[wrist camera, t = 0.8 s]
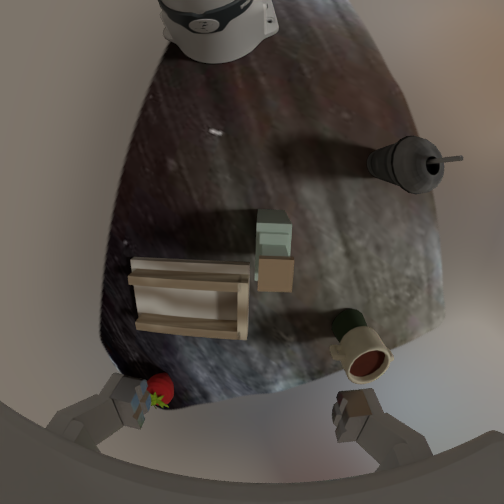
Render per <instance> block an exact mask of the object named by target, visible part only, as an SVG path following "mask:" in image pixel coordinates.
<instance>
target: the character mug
mask: <svg viewBox="0 0 504 504" xmlns="http://www.w3.org/2000/svg"><path fill="white" fill-rule="evenodd" d="M332 331H333V333H334V335H335V336H336V338H337V340H338V341H339V343H340V345H331V346H330V347H329V349H330V353H331V356H332V358H333V359H334V360H340V361H341V363H342V366H343V368H344V370H345V372H346V374H347V377H348V379H349V380H350V381H351V382H353V383H356V384H366V383H369V382H372V381H374V380H376V379H378V378H379V377H380V376H381V375H383V374H384V373H385V371H386V370H387V369H388V367H389V365H390V362H391V361H393V360H394V356H393V354H392V353H391V351H390V349H389V348H386V347H385V345H384V343H383V342H382V340H381V339H380V337H379V335H378V334H377V333H376V332H375V331H374V330H373V329H372V328H370V327H367V324H366V322H365V319H364V317H363V314H362V313H361V312H359V311H358V310H354V309H349V310H346V311H343V312H342V313H340V314H339V315H338V316H337V317H336V318H335V320H334V322H333V324H332ZM337 351H339V352H338V353H339V354H338V353H337Z"/></svg>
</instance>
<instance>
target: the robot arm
mask: <svg viewBox="0 0 504 504" xmlns="http://www.w3.org/2000/svg"><path fill="white" fill-rule="evenodd" d="M158 2H159V4H160V7H161V9H162V12H161V13H160V17H161V19H162V21H163V23H164V25H165V29H164V31H163V35H164V37H165V39H167V40H169V41H171V42H173V43H176V44H177V45H178V46H179V48H180V49H181V50H182V52H183V53H184V54H186V55H187V56H188V57H190V58H192V59H194V60H196V61H199V62H204V63H225V62H229V61H233V60H236V59H238V58H241V57H243V56H245V55H246V54H248V53H249V52H251V51H252V50H253V49H254V48H255V47H256V46H257V45H258V44H259V43H260V42H261V41H262V40H263V39H265V38H267V37H269V36H272V35H274V34H275V33H277V32H278V30H279V26H278V22H277V18H276V15H275V11H274V8H273V4H272V1H271V0H158ZM268 21H271V22H272V23H268ZM147 387H148V385H147V381H146V380H144V379H140V378H136V377H132V376H127V375H123V374H119V373H113V374H112V376H111V377H110V379H109V380H108V382H107V383H106V385H105V386H104V388H103V389H102V391H101V392H100V394H99V395H97V394H96V395H93V396H91V397H89V398H87V399H85V400H82V401H80V402H78V403H76V404H74V405H71V406H69V407H67V408H64V409H62V410H60V411H57V413H56V414H55V415H54V417H53V418H52V420H51V421H50V422H49V424H48V425H47V427H46V428H43V427H41V426H40V425H38V424H36V423H34V422H33V421H31V420H29V419H27V418H26V417H24V416H22V415H21V414H19V413H18V412H16V411H14V410H13V409H11V408H10V407H8V406H7V405H5V404H4V403H2V402H1V401H0V504H504V434H502V433H501V432H498V431H495V430H492V431H489V432H486V433H484V434H482V435H480V436H478V437H477V438H474V439H472V440H470V441H468V442H466V443H464V444H461V445H459V446H457V447H454V448H452V449H449V450H447V451H444V452H442V453H439V454H437V455H434V456H433V454H432V452H431V450H430V447H429V446H428V443H427V441H426V439H425V437H424V436H423V435H421V434H420V433H418V432H416V431H415V430H413V429H411V428H410V427H408V426H407V425H405V424H404V423H402V422H400V421H399V420H397V419H396V418H394V417H393V416H391V415H390V414H388V413H384V412H383V410H382V407H381V405H380V403H379V401H378V398H377V396H376V394H375V392H374V390H373V389H372V388H368V389H361V390H360V389H359V390H350V391H339V392H338V394H337V397H336V398H337V402H336V403H335V404H334V406H333V409H332V420H333V424H334V425H335V426H337V428H336V430H335V433H336V437H337V441H338V443H341V442H351V441H356V442H357V443H358V444H359V445H360V446H361V447H362V448H363V449H364V450H365V451H366V452H367V453H368V454H370V455H371V456H372V457H373V458H374V459H375V460H376V461H377V462H378V463H379V464H380V466H379V467H378V468H377V470H376V471H375V472H374V473H369V474H364V475H359V476H353V477H347V478H340V479H333V480H326V481H315V482H300V483H242V482H229V481H217V480H209V479H202V478H195V477H188V476H183V475H178V474H173V473H167V472H163V471H159V470H154V469H150V468H146V467H143V466H139V465H135V464H132V463H129V462H125V461H122V460H119V459H116V458H113V457H110V456H107V455H104V454H102V453H101V452H100V451H99V449H98V448H97V446H96V445H97V444H99V443H100V442H102V441H103V440H105V439H106V438H108V437H109V436H111V435H112V434H113V433H115V432H116V431H118V430H119V429H120V428H122V427H123V425H124V426H128V427H132V428H136V429H141V427H142V425H143V423H144V421H145V417H144V414H146V413H147V412H148V411H149V409H150V405H151V396H150V393H149V392H148V391H147V390H146V389H147Z"/></svg>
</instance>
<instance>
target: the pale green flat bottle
mask: <svg viewBox="0 0 504 504" xmlns="http://www.w3.org/2000/svg"><path fill="white" fill-rule="evenodd" d="M291 234H292V223H291V221H290V220H289V218H288V216H287V214H286V212H285V210H269V209H258V214H257V228H256V257H255V281H258V291H269V292H292V282H293V271H294V257H290V248H291Z"/></svg>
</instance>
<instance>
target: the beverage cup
mask: <svg viewBox="0 0 504 504" xmlns="http://www.w3.org/2000/svg"><path fill="white" fill-rule="evenodd" d="M462 160H463V156H462V155H461V156H453V157H445V158H442V155H441V153H440V152H439V150H438V149H437V147H436V146H435V145H434V144H432V143H431V142H430V141H428V140H426V139H423V138H420V137H416V136H406V137H404V138H402V139H400V140H399V141H398V142H397V143H395V144H392V145H389V146H386V147H383V148H380V149H378V150H376V151H374V152H372V153H371V154H370V155H369V156H368V159H367V168H368V170H369V172H370V173H371V174H372V175H373V176H374V177H376V178H379V179H381V180H384V181H387V182H389V183H392V184H395V185H398V186H400V187H401V188H402V189H404V190H405V191H407V192H408V193H412V194H420V193H425V192H429V191H431V190H433V189H434V188H436V187H437V185H438V184H439V183H440V182H441V180H442V177H443V174H444V162H453V161H462Z"/></svg>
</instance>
